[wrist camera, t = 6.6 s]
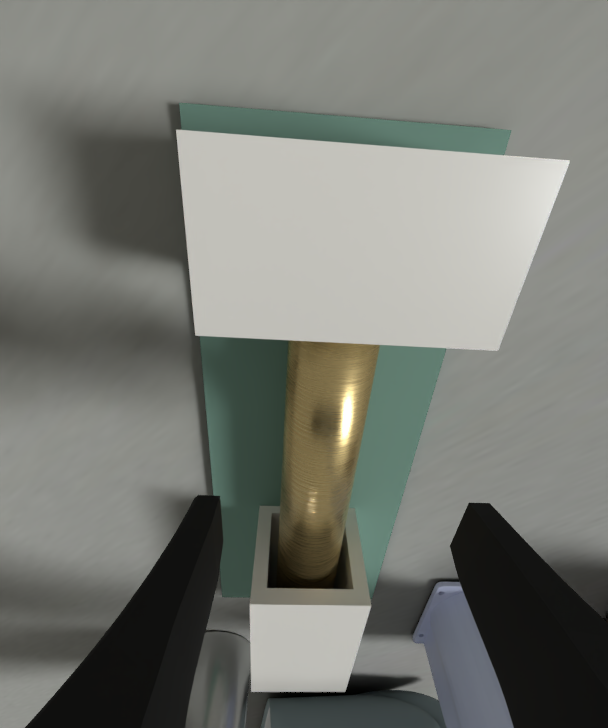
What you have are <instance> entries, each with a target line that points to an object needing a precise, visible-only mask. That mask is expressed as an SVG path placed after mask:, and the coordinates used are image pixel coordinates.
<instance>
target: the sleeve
mask: <svg viewBox="0 0 608 728" xmlns="http://www.w3.org/2000/svg"><path fill="white" fill-rule="evenodd" d="M279 518H280V506H260V508H259V517H258V527H257V537H256V547H255V557H254V567H253V577H252V586H251V596H250V651H251V692H345V691H346V688H347V685H348V681H349V678H350V675H351V672H352V668H353V665H354V662H355V658H356V655H357V652H358V648H359V645H360V642H361V638H362V635H363V632H364V629H365V625H366V622H367V619H368V615H369V612H370V609H371V601H370V595H369V589H368V583H367V577H366V571H365V565H364V559H363V553H362V547H361V542H360V536H359V530H358V524H357V518H356V512H355V508H349V509H348V514H347V520H346V525H345V530H344V535H343V540H342V546H341V551H340V556H339V561H338V566H337V571H336V577H335V582H334V587H333V589H297V588H277V586H276V579H277V559H278V538H279Z"/></svg>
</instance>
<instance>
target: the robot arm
mask: <svg viewBox="0 0 608 728" xmlns="http://www.w3.org/2000/svg"><path fill="white" fill-rule="evenodd" d="M450 547H451V551H452V555H453V559H454V563H455V567H456V570H457V574H458V577H459V581H460V582H438V583H437V584H436V585H435V587H434V589H433V591H432V594H431V596H430V598H429V600H428V603H427V605H426V607H425V609H424V612H423V614H422V616H421V618H420V621H419V623H418V625H417V627H416V630H415V632H414V634H413V636H412V638H413V642H415V643H424V646H425V649H426V653H427V657H428V661H429V665H430V668H431V672H432V676H433V680H434V684H435V687H436V691H437V695H438V699H439V703H440V706H441V710H442V714H443V718H444V721H445V724H446V727H447V728H608V623H607V622H606V621H605V620H604V619H603V618H602V617H601V616H600V615H599V614H598V613H596V612H595V611H594V610H593V609H592V608H591V607H590V606H589V605H588V604H587V603H586V602H585V601H584V600H583V599H582V598H581V597H580V596H579V595H578V594H577V593H576V592H575V591H574V590H573V589H571V588H570V587H569V586H568V585H567V584H566V583H565V582H564V581H563V580H562V579H561V578H560V577H559V576H558V575H557V574H556V573H555V571H554V570H553V569H552V568H551V567H550V566H549V565H548V564H547V563H546V562H545V561H544V560H543V559H542V558H541V557H540V556H539V555H538V554H537V553H536V552H535V551H534V550H533V549H532V548H531V547H530V546H529V545H528V543H527V542H526V541H525V540H524V539H523V538H522V537H521V536H520V535H519V534H518V533H517V532H516V531H515V530H514V529H513V528H512V527H511V525H510V524H509V523H508V522H507V521H506V520H505V519H504V518H503V517H502V516H501V515H500V514H499V513H498V512H497V511H496V510H495V509H494V508H493V507H492V506H491V505H490V504H489V503H469V504H468V506H467V509H466V511H465V513H464V515H463V518H462V520H461V522H460V524H459V527H458V529H457V531H456V534H455V536H454V538H453V540H452V543H451V545H450ZM222 548H223V528H222V514H221V501H220V496H206V495H198V496H197V497H195V498H194V500H193V502H192V504H191V506H190V508H189V510H188V512H187V514H186V515H185V517H184V519H183V521H182V522H181V524H180V526H179V528H178V529H177V531H176V533H175V534H174V536H173V537H172V539H171V541H170V542H169V544H168V546H167V547H166V549H165V550H164V552H163V553H162V555H161V556H160V558H159V559H158V561H157V562H156V564H155V566H154V567H153V569H152V570H151V572H150V573H149V575H148V576H147V578H146V579H145V580H144V582H143V583H142V585H141V586H140V587H139V589H138V590H137V592H136V593H135V594H134V596H133V597H132V598H131V600H130V601H129V603H128V604H127V605H126V607H125V608H124V610H123V611H122V612H121V614H120V615H119V616H118V618H117V619H116V620H115V622H114V623H113V624H112V625H111V627H110V628H109V629H108V631H107V632H106V633H105V634H104V636H103V637H102V638H101V640H100V641H99V642H98V643H97V645H96V646H95V647H94V648H93V649H92V651H91V652H90V653H89V654H88V656H87V657H86V658H85V659H84V661H83V662H82V663H81V664H80V665H79V667H78V668H77V669H76V670H75V671H74V672H73V674H72V675H71V676H70V677H69V678H68V679H67V681H66V682H65V683H64V684H63V685H62V686H61V688H60V689H59V690H58V691H57V692H56V693H55V695H54V696H53V697H52V698H51V699H50V700H49V701H48V703H47V704H46V705H45V706H44V707H43V708H42V709H41V711H40V712H39V713H38V714H37V715H36V716H35V717H34V718H33V719H32V721H31V722H30V723H29V724H28V725H27V726H26V727H25V728H185V724H186V718H187V712H188V706H189V700H190V695H191V690H192V686H193V681H194V676H195V672H196V668H197V664H198V660H199V655H200V651H201V647H202V643H203V639H204V635H205V631H206V627H207V623H208V619H209V614H210V610H211V606H212V602H213V598H214V594H215V590H216V585H217V581H218V575H219V569H220V562H221V555H222Z"/></svg>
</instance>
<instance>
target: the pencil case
mask: <svg viewBox="0 0 608 728" xmlns="http://www.w3.org/2000/svg"><path fill="white" fill-rule="evenodd" d="M261 728H447V727H446V724H445V721H444V718H443V714H442V710H441V706H440V703H439V701H438V700H436V699H434V698H432V697H430V696H427V695H424V694H421V693H416V692H412V691H402V690H382V691H370V692H366V693H361V694H356V695H342V696H319V697H295V698H269V699H268V701H267V704H266V707H265V711H264V715H263V720H262V725H261Z"/></svg>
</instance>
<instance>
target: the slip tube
mask: <svg viewBox="0 0 608 728" xmlns="http://www.w3.org/2000/svg"><path fill="white" fill-rule="evenodd" d="M379 349H380V345H373V344H353V343H333V342H313V341H293V340H288V356H287V377H286V397H285V417H284V437H283V457H282V478H281V498H280V518H279V538H278V559H277V579H276V586H277V588H297V589H333V587H334V582H335V577H336V571H337V566H338V561H339V556H340V551H341V546H342V540H343V535H344V530H345V525H346V520H347V514H348V509H349V504H350V499H351V494H352V489H353V483H354V478H355V473H356V468H357V463H358V458H359V452H360V447H361V442H362V437H363V432H364V427H365V421H366V416H367V411H368V406H369V401H370V395H371V390H372V385H373V380H374V375H375V370H376V364H377V359H378V354H379Z"/></svg>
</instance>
